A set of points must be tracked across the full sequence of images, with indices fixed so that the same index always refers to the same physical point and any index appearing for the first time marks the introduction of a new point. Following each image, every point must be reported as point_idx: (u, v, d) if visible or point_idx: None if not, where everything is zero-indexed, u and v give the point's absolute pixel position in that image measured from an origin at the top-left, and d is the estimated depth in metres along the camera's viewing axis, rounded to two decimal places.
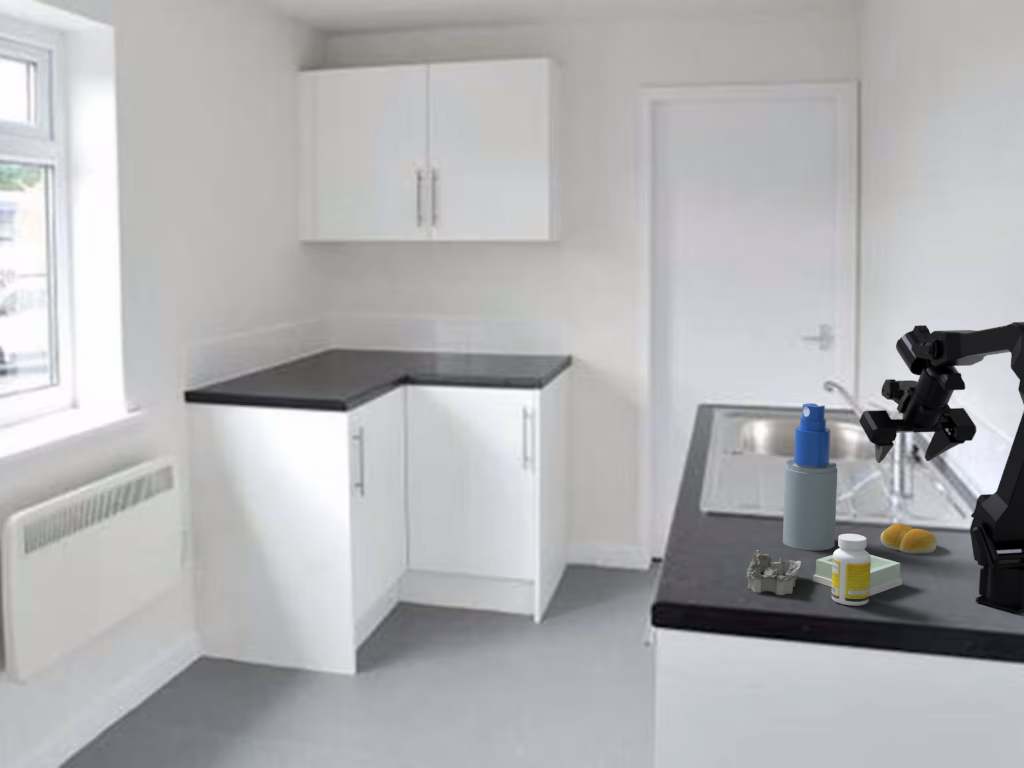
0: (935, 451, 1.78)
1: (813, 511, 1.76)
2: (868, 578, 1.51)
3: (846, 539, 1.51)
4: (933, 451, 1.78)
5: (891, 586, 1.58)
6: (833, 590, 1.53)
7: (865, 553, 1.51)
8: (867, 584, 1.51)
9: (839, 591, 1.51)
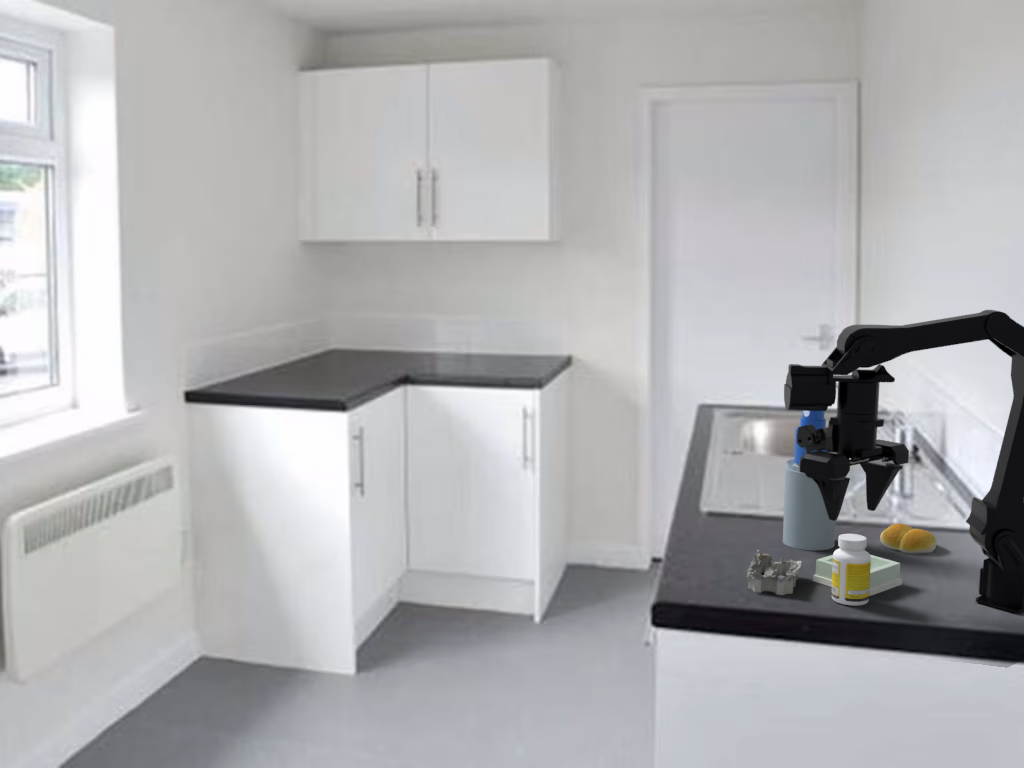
0: (879, 492, 1.53)
1: (813, 511, 1.76)
2: (868, 578, 1.51)
3: (847, 539, 1.51)
4: (876, 494, 1.53)
5: (891, 586, 1.58)
6: (833, 590, 1.53)
7: (865, 553, 1.51)
8: (867, 584, 1.51)
9: (839, 591, 1.51)
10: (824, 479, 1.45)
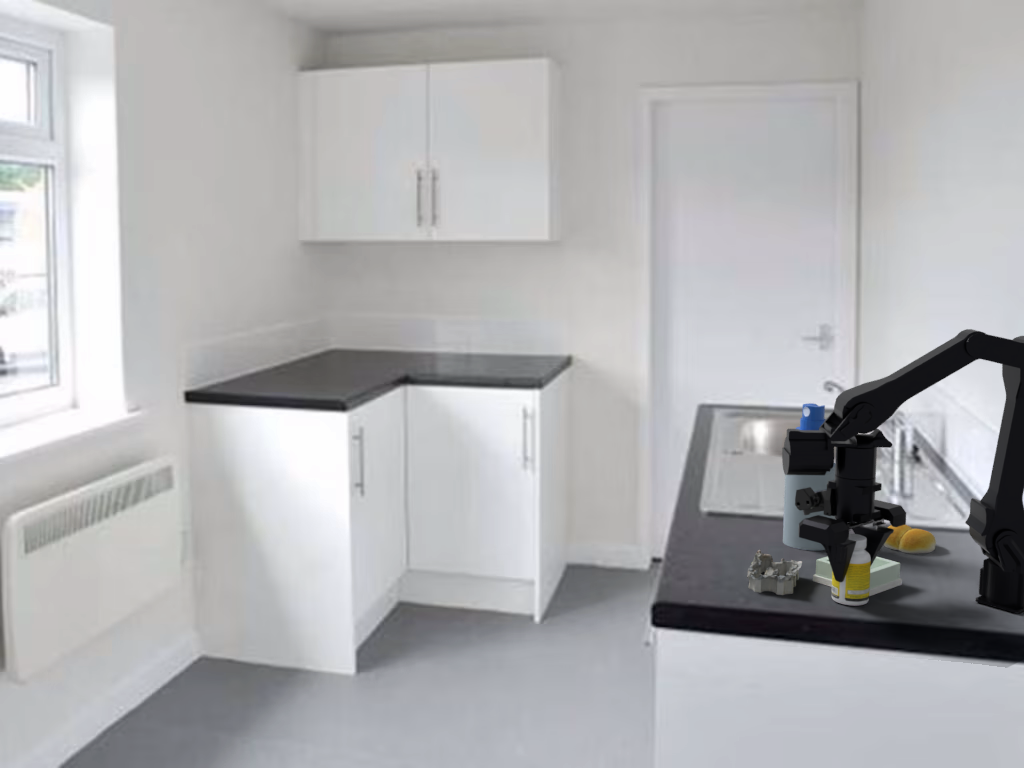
0: (870, 555, 1.53)
1: None
2: (868, 578, 1.51)
3: None
4: None
5: (891, 586, 1.58)
6: (833, 590, 1.53)
7: (865, 553, 1.51)
8: (867, 584, 1.51)
9: (839, 591, 1.51)
10: None
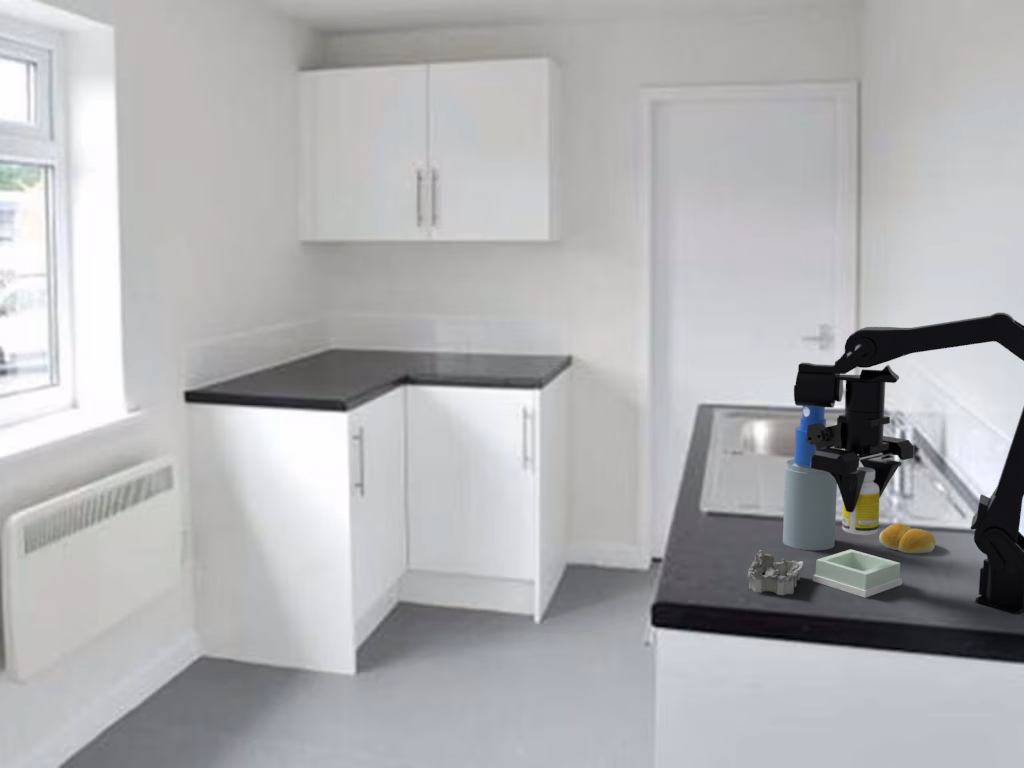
0: (879, 487, 1.59)
1: (813, 511, 1.76)
2: (877, 508, 1.57)
3: None
4: None
5: (891, 586, 1.58)
6: (844, 521, 1.59)
7: (874, 484, 1.57)
8: (876, 514, 1.57)
9: (849, 521, 1.58)
10: None
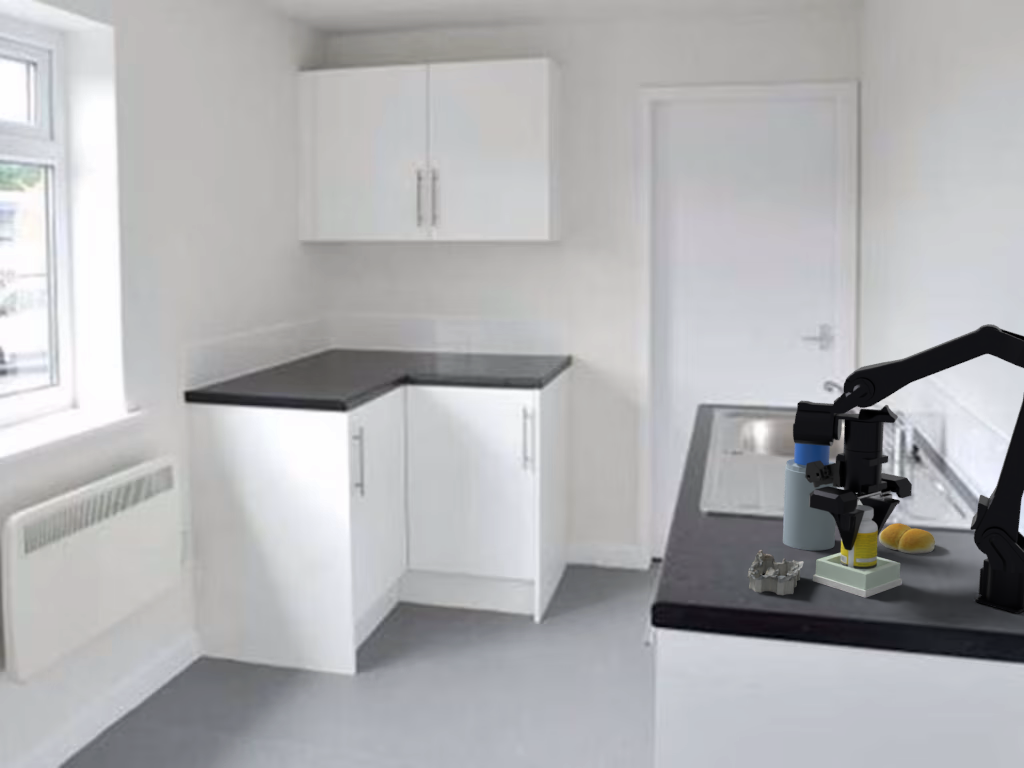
0: (877, 525, 1.60)
1: (813, 511, 1.76)
2: (875, 547, 1.58)
3: None
4: None
5: (891, 586, 1.58)
6: (842, 559, 1.60)
7: (872, 523, 1.58)
8: (874, 552, 1.58)
9: (848, 560, 1.59)
10: None
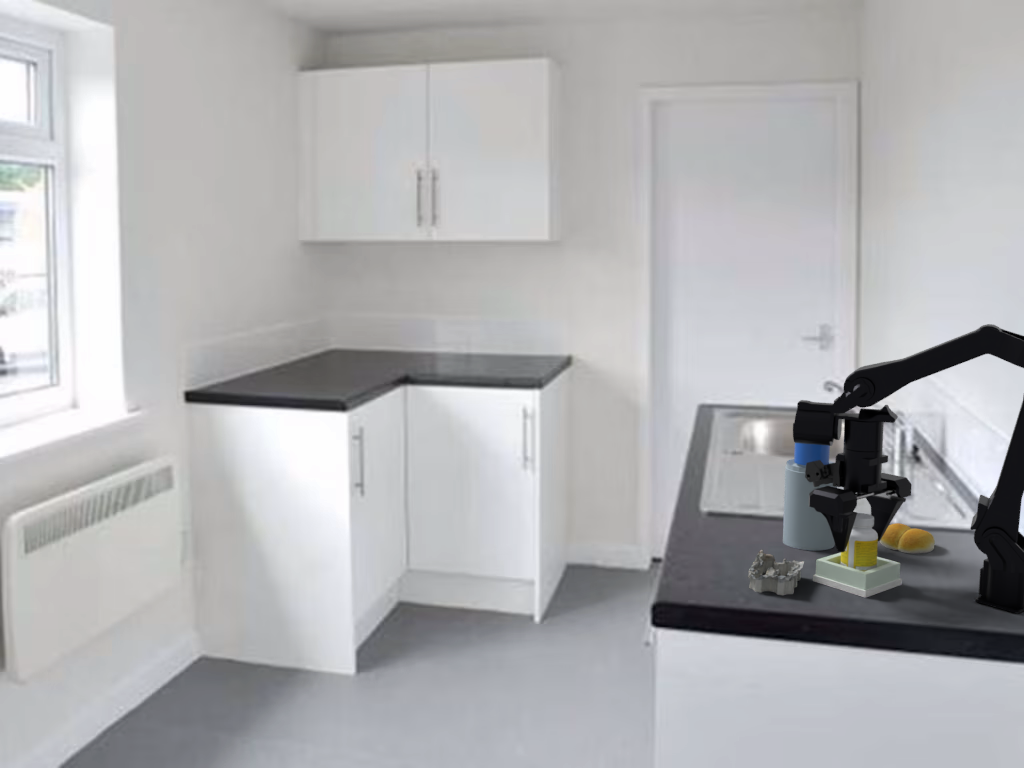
0: (883, 523, 1.61)
1: (813, 511, 1.76)
2: (875, 555, 1.58)
3: None
4: (881, 525, 1.62)
5: (891, 586, 1.58)
6: None
7: (872, 531, 1.58)
8: (874, 560, 1.58)
9: None
10: (832, 513, 1.54)
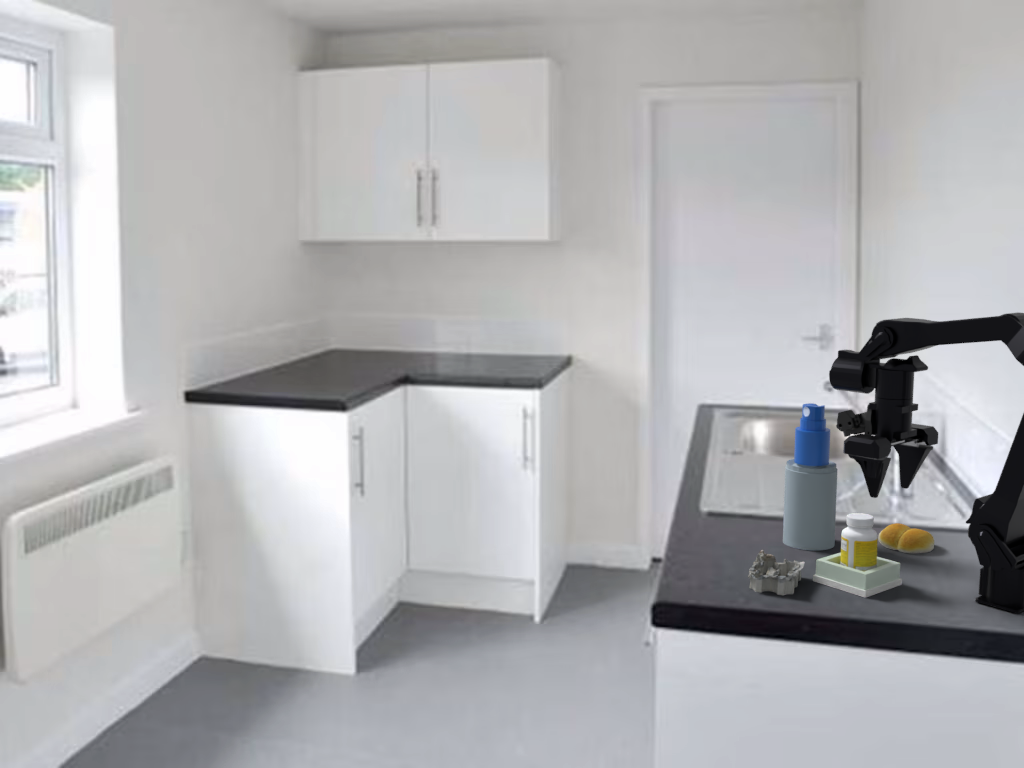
0: (912, 471, 1.66)
1: (813, 511, 1.76)
2: (875, 555, 1.58)
3: (854, 517, 1.58)
4: (909, 472, 1.67)
5: (891, 586, 1.58)
6: None
7: (872, 531, 1.58)
8: (874, 560, 1.58)
9: None
10: (868, 459, 1.58)
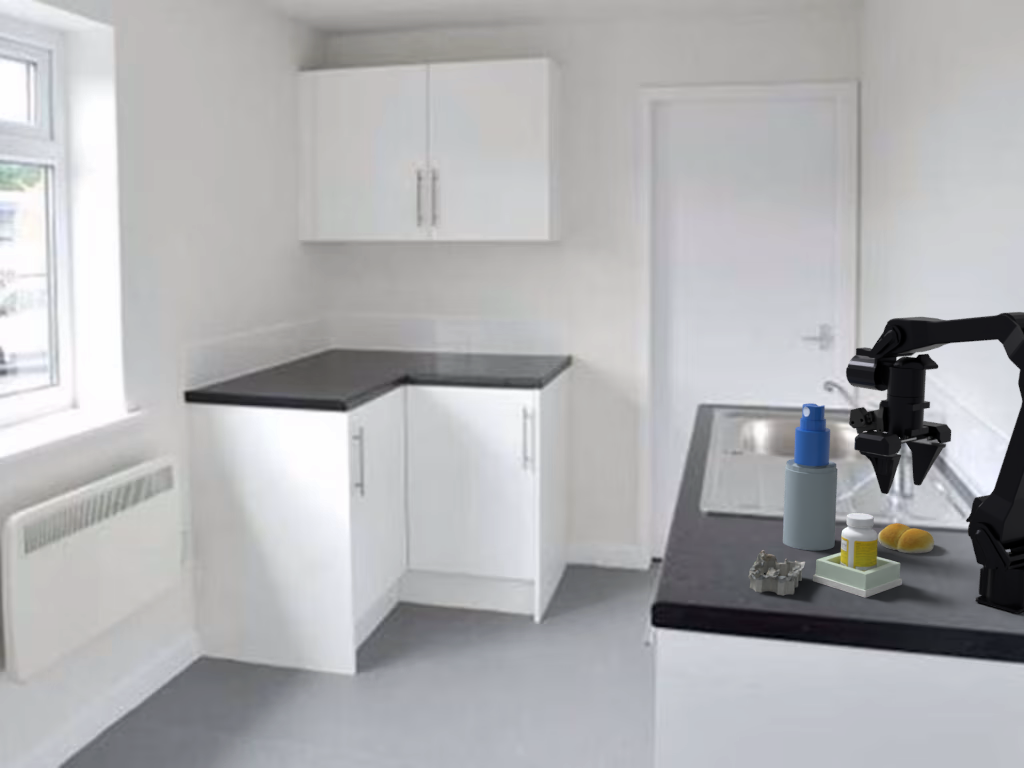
0: (924, 468, 1.68)
1: (813, 511, 1.76)
2: (875, 555, 1.58)
3: (854, 517, 1.58)
4: (922, 470, 1.69)
5: (891, 586, 1.58)
6: None
7: (872, 531, 1.58)
8: (874, 561, 1.58)
9: None
10: (878, 456, 1.61)
